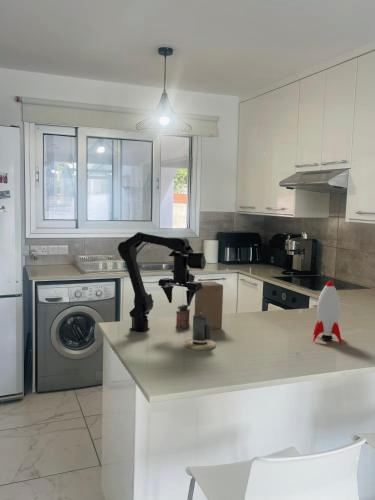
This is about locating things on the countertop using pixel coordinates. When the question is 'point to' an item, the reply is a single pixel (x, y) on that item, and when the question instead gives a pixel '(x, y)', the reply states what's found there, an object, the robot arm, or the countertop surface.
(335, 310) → the rocket
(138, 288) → the robot arm
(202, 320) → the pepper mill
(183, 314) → the lighter
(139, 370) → the countertop surface
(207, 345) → the smooth tan round disc
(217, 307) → the wooden block
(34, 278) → the countertop surface
